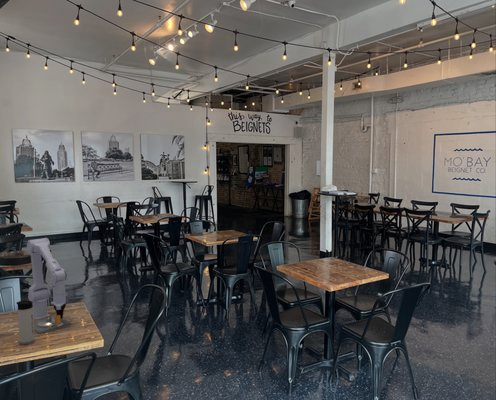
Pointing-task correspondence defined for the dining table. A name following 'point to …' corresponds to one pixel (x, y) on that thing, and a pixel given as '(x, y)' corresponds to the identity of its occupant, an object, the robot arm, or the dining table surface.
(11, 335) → the dining table surface
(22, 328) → the travel mug
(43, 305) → the robot arm
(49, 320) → the lidded saucepan
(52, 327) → the base plate
